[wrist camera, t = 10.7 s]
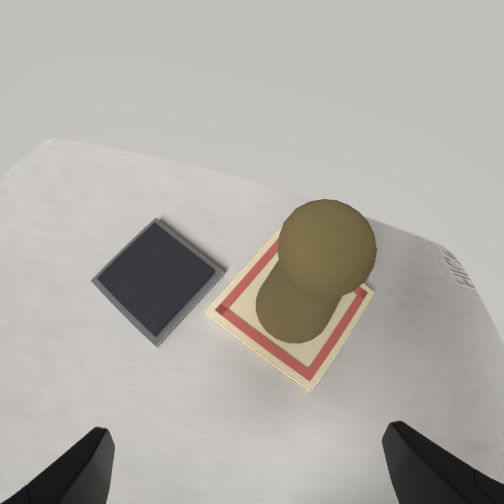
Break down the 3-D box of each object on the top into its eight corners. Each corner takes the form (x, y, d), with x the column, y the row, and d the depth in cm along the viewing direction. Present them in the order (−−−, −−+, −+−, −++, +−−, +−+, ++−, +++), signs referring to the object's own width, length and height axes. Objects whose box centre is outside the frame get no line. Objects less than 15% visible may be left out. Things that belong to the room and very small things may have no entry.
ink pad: (224, 274, 26) (224, 268, 25) (157, 347, 22) (154, 344, 21) (157, 221, 28) (155, 215, 27) (93, 283, 24) (89, 278, 23)
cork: (345, 307, 24) (412, 237, 15) (294, 360, 22) (345, 317, 12) (293, 257, 26) (327, 164, 17) (238, 303, 24) (246, 223, 14)
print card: (372, 294, 26) (375, 291, 25) (309, 392, 21) (311, 391, 21) (280, 229, 28) (281, 225, 28) (205, 313, 24) (204, 310, 23)
